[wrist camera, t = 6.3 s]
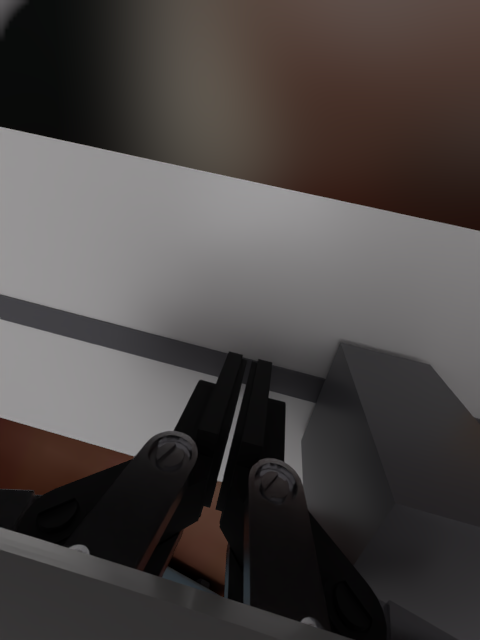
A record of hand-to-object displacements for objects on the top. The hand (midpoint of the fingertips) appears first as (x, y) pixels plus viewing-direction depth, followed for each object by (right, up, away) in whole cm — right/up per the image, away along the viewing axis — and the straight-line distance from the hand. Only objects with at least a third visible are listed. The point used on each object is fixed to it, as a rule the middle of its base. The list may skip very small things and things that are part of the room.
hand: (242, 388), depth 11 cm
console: (+1, +2, +4) cm, 4 cm away
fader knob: (+5, -1, 0) cm, 5 cm away
